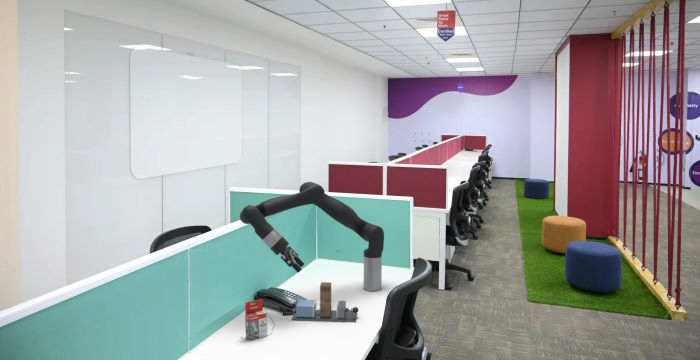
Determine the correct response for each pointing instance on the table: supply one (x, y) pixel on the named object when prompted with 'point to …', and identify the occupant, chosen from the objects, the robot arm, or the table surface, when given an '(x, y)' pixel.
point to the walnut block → (325, 299)
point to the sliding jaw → (306, 308)
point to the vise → (333, 314)
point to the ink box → (255, 320)
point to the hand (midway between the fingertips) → (301, 268)
